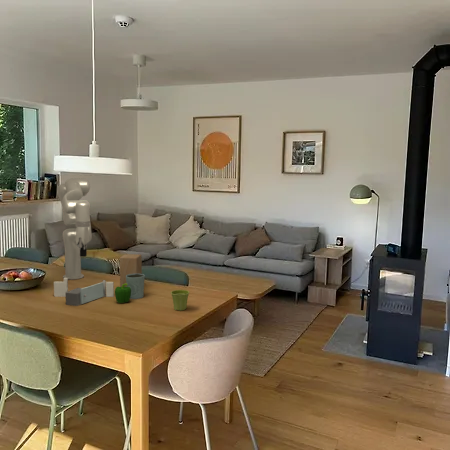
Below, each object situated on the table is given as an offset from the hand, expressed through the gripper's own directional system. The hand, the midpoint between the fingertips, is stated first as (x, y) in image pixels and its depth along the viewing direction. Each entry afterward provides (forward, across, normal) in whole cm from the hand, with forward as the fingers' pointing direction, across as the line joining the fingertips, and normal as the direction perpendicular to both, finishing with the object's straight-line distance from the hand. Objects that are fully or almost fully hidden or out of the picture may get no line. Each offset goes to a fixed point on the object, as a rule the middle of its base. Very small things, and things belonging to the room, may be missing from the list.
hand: (83, 256), depth 252 cm
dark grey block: (+20, +22, +3) cm, 30 cm away
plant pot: (+18, +32, +58) cm, 68 cm away
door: (+19, +19, +11) cm, 29 cm away
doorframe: (+20, +11, +3) cm, 23 cm away
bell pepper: (+19, +21, +26) cm, 39 cm away
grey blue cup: (+19, +11, +31) cm, 39 cm away
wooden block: (+20, -3, +26) cm, 33 cm away
